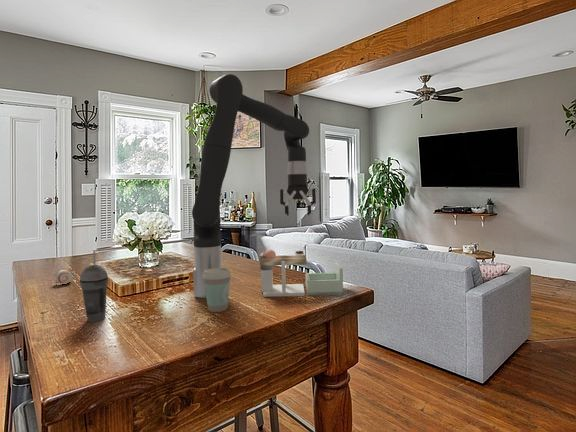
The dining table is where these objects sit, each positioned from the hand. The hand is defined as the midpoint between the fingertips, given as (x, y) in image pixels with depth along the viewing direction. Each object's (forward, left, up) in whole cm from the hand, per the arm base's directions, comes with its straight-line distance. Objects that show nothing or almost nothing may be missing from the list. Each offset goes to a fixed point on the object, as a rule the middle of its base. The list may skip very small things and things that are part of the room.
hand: (298, 215), depth 143 cm
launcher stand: (-6, -16, -26) cm, 31 cm away
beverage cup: (-60, -40, -26) cm, 77 cm away
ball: (-11, -16, -13) cm, 23 cm away
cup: (+8, -16, -26) cm, 31 cm away
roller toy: (-96, +3, -26) cm, 99 cm away
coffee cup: (-26, -34, -26) cm, 50 cm away
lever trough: (-6, -13, -17) cm, 22 cm away
